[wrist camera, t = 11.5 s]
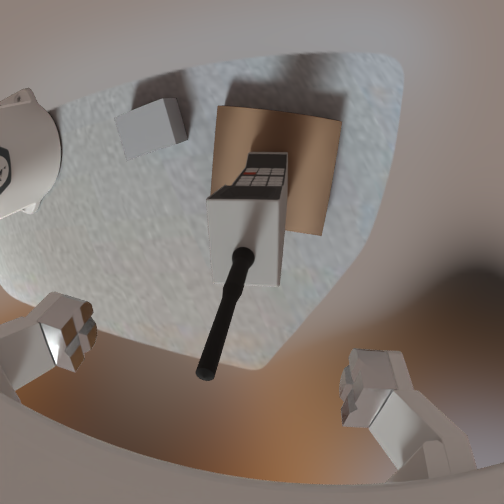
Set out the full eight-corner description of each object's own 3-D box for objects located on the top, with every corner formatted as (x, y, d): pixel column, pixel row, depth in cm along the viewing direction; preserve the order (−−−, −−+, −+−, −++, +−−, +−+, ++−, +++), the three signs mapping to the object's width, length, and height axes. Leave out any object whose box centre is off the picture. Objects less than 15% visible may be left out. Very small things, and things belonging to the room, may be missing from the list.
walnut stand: (215, 210, 37) (209, 219, 34) (224, 105, 32) (217, 105, 29) (319, 225, 36) (321, 235, 33) (337, 120, 31) (341, 121, 28)
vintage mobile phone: (288, 151, 30) (265, 300, 8) (287, 200, 32) (264, 418, 10) (249, 151, 31) (126, 290, 8) (250, 199, 33) (160, 405, 10)
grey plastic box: (142, 154, 35) (126, 160, 32) (131, 115, 33) (114, 117, 30) (188, 139, 34) (176, 144, 30) (176, 98, 32) (162, 98, 28)
